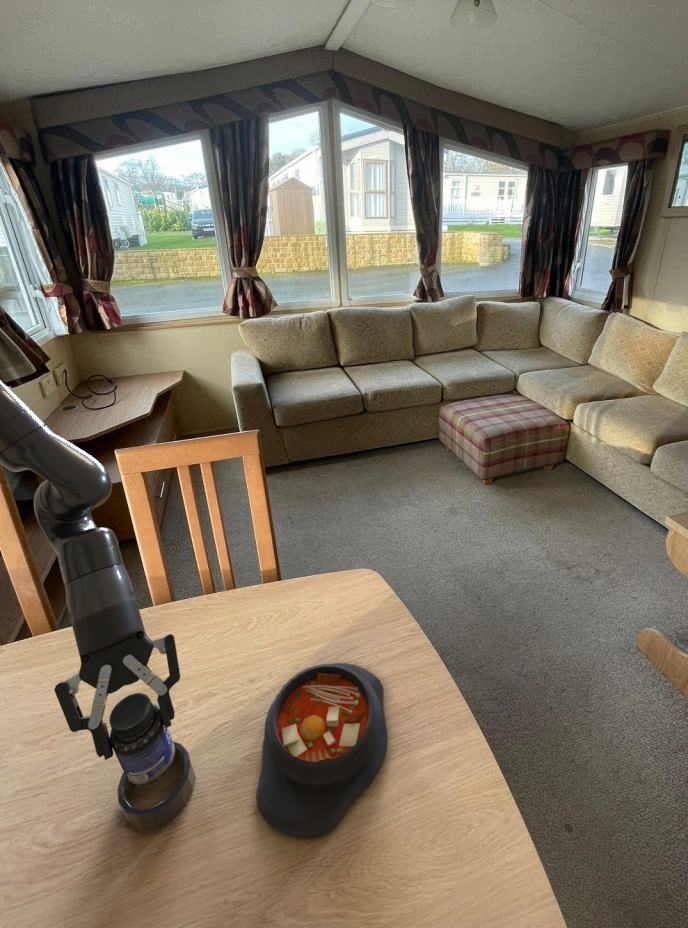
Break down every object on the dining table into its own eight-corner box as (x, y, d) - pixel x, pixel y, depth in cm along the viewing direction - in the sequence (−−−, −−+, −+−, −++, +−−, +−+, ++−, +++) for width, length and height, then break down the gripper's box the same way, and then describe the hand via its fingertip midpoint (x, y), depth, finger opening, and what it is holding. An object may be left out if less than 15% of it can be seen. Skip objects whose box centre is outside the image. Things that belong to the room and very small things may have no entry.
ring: (117, 841, 63) (107, 821, 61) (138, 767, 71) (129, 746, 69) (189, 828, 64) (182, 807, 62) (201, 756, 72) (195, 735, 70)
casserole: (308, 658, 86) (304, 625, 83) (408, 688, 81) (408, 654, 77) (225, 814, 65) (214, 779, 62) (352, 870, 60) (349, 835, 56)
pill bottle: (185, 754, 65) (167, 703, 60) (144, 798, 61) (121, 747, 56) (157, 729, 68) (138, 678, 63) (116, 770, 64) (91, 718, 59)
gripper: (163, 587, 70) (198, 706, 66) (46, 633, 63) (78, 768, 60) (161, 583, 64) (200, 714, 60) (31, 634, 57) (66, 785, 53)
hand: (139, 740), depth 60 cm, fingers closed on pill bottle, 6 cm apart
